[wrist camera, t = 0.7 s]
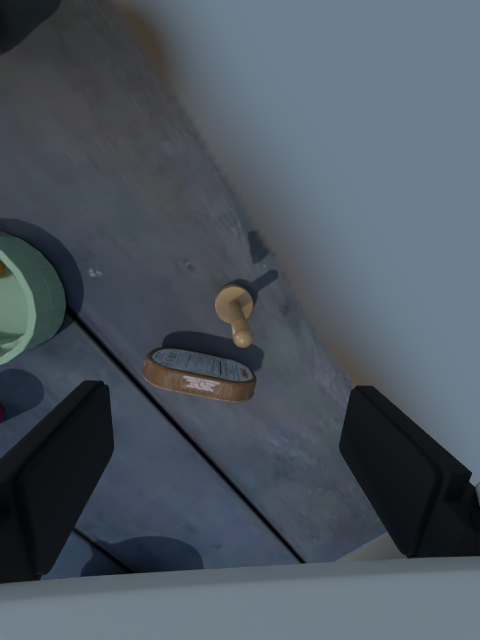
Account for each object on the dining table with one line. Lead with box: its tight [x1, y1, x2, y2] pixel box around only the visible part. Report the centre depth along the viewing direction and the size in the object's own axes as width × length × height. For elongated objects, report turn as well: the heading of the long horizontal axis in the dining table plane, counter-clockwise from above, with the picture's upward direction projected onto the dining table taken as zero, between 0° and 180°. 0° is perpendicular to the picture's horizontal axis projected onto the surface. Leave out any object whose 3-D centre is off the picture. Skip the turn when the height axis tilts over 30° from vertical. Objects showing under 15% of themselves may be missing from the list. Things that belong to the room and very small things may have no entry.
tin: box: [142, 347, 257, 402], centre depth 32 cm, size 15×3×8 cm, turn 75°
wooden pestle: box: [215, 284, 253, 348], centre depth 26 cm, size 5×5×16 cm
